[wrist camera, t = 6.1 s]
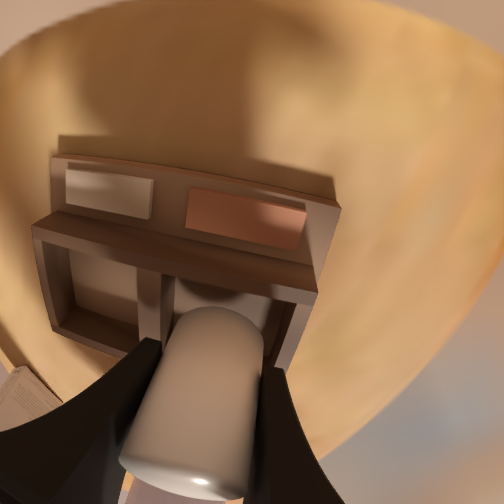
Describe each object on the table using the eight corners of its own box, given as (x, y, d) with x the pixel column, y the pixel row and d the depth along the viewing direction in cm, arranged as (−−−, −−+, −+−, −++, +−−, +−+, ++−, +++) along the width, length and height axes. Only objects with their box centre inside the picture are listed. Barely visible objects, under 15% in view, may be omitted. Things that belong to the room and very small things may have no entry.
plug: (250, 380, 12) (232, 506, 7) (170, 357, 12) (124, 476, 7) (276, 321, 11) (265, 478, 5) (180, 294, 10) (110, 436, 5)
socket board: (283, 357, 16) (282, 399, 13) (74, 302, 16) (48, 331, 13) (337, 201, 12) (353, 227, 9) (63, 153, 12) (21, 166, 9)
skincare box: (13, 367, 22) (-39, 444, 11) (27, 362, 20) (-32, 450, 9) (51, 406, 24) (8, 483, 13) (68, 405, 22) (22, 494, 12)
